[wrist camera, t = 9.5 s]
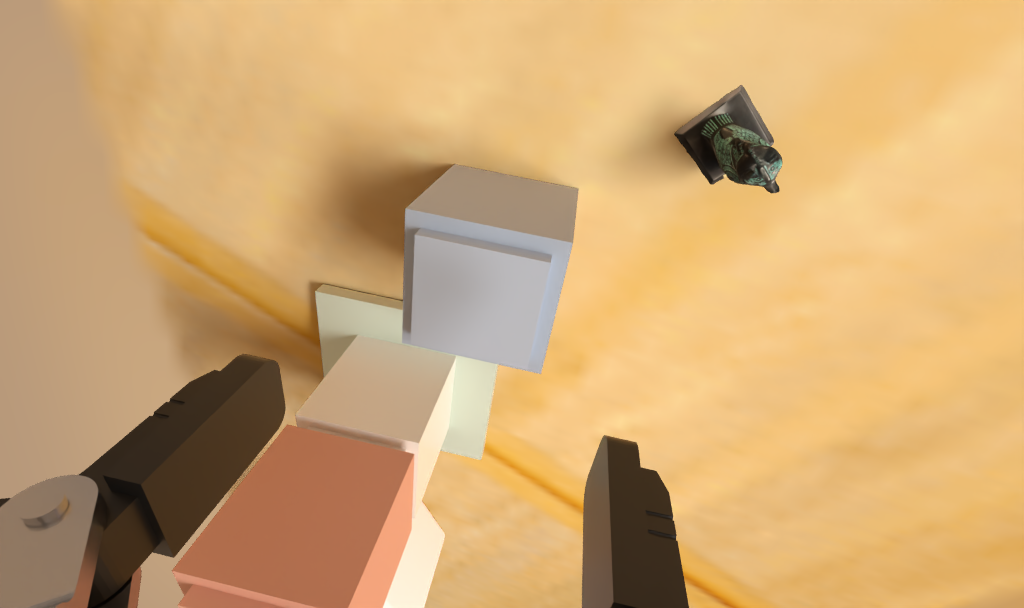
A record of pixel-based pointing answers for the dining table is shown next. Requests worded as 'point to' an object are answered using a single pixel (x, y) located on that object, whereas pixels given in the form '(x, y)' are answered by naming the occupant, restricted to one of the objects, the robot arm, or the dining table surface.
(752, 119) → the sculpture
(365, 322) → the tower base
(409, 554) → the medicine bottle
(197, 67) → the dining table surface
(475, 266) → the grey block
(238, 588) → the brick terracotta
